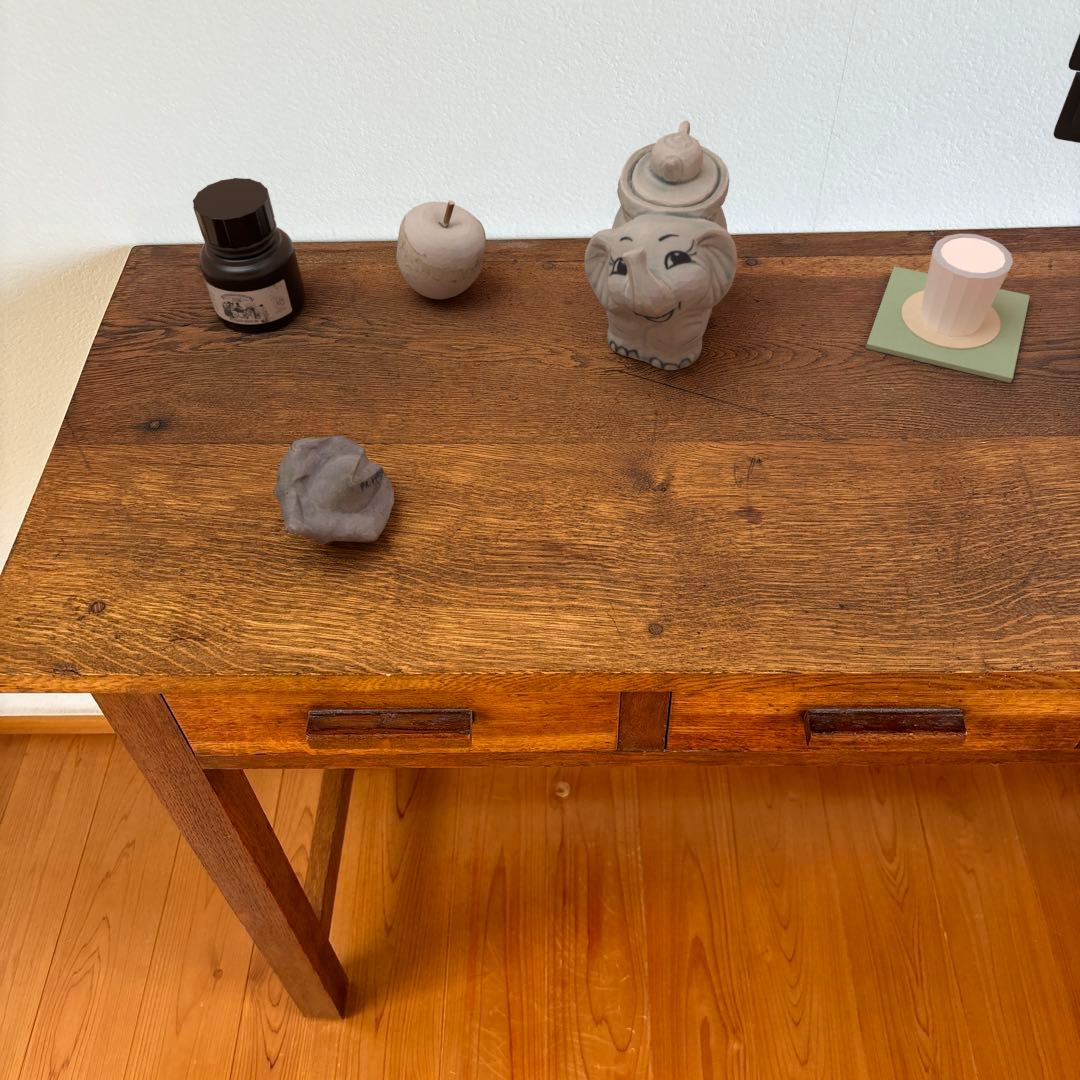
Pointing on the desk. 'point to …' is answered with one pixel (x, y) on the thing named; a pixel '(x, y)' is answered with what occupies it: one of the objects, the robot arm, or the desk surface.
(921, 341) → the mat
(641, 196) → the teapot
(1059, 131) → the robot arm
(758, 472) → the desk surface
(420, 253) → the decorative object
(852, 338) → the desk surface
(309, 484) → the fossil
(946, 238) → the shot glass
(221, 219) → the ink bottle
